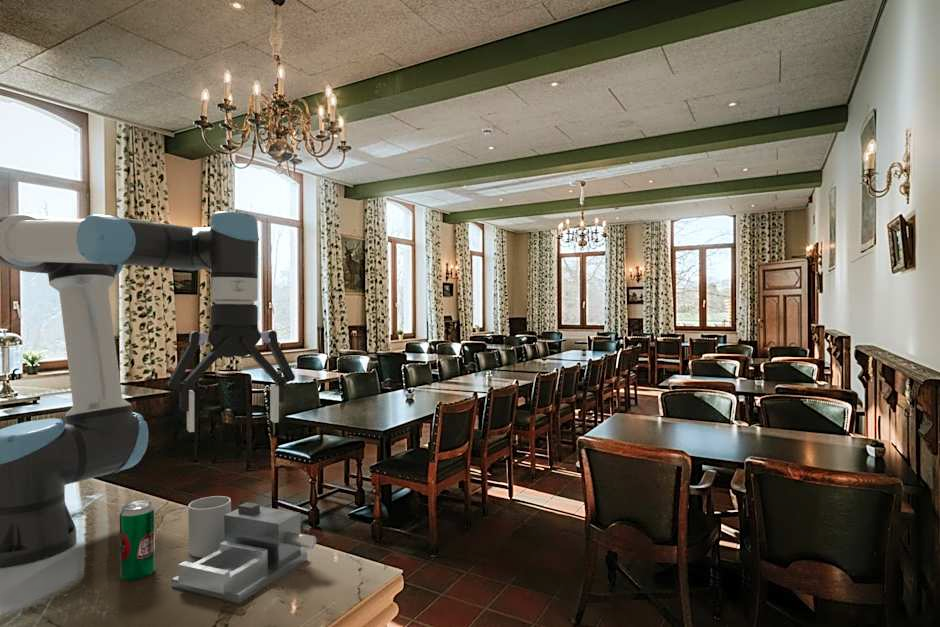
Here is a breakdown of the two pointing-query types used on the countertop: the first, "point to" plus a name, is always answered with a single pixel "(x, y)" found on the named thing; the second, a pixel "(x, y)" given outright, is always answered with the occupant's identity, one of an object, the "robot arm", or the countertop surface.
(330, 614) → the countertop surface
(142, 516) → the soda can
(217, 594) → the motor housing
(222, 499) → the cup
